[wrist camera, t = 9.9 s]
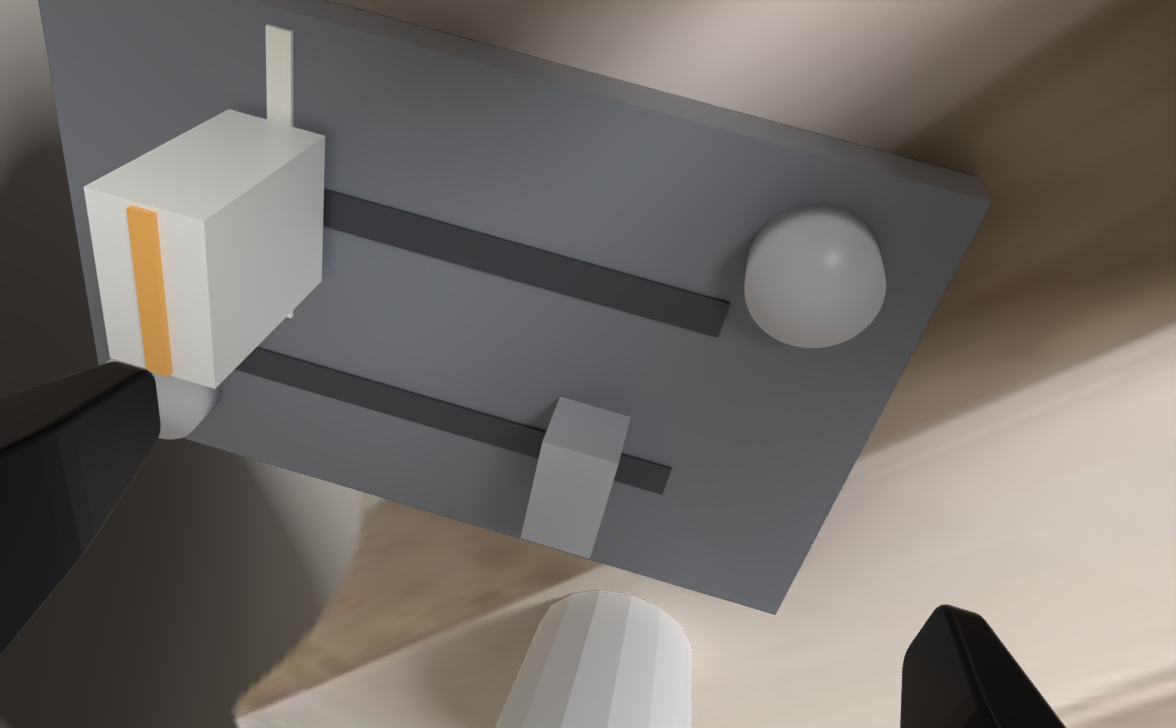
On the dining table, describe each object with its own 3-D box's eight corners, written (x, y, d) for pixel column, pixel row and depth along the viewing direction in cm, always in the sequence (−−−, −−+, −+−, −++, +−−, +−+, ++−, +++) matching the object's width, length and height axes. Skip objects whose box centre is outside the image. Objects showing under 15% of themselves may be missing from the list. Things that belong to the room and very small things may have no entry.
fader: (325, 135, 20) (198, 224, 16) (321, 281, 22) (211, 392, 18) (228, 109, 20) (77, 189, 16) (235, 256, 22) (105, 361, 18)
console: (978, 177, 19) (1012, 241, 16) (775, 578, 27) (774, 669, 24) (74, -68, 20) (-44, -47, 17) (136, 389, 28) (62, 454, 25)
